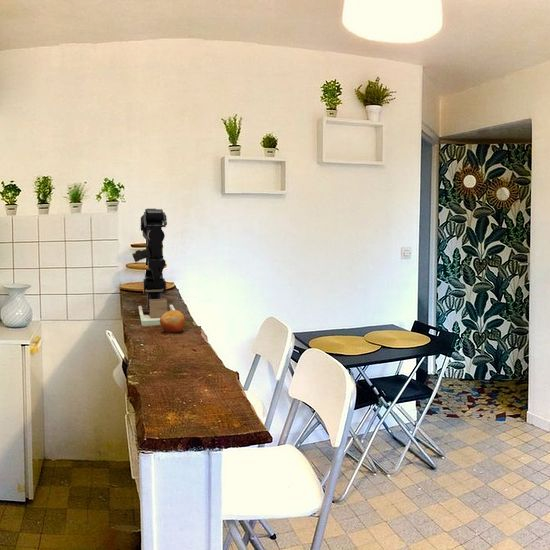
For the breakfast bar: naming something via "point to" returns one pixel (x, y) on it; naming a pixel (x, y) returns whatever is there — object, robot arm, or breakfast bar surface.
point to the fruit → (172, 321)
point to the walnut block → (157, 307)
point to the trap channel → (150, 321)
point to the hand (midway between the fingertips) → (155, 282)
